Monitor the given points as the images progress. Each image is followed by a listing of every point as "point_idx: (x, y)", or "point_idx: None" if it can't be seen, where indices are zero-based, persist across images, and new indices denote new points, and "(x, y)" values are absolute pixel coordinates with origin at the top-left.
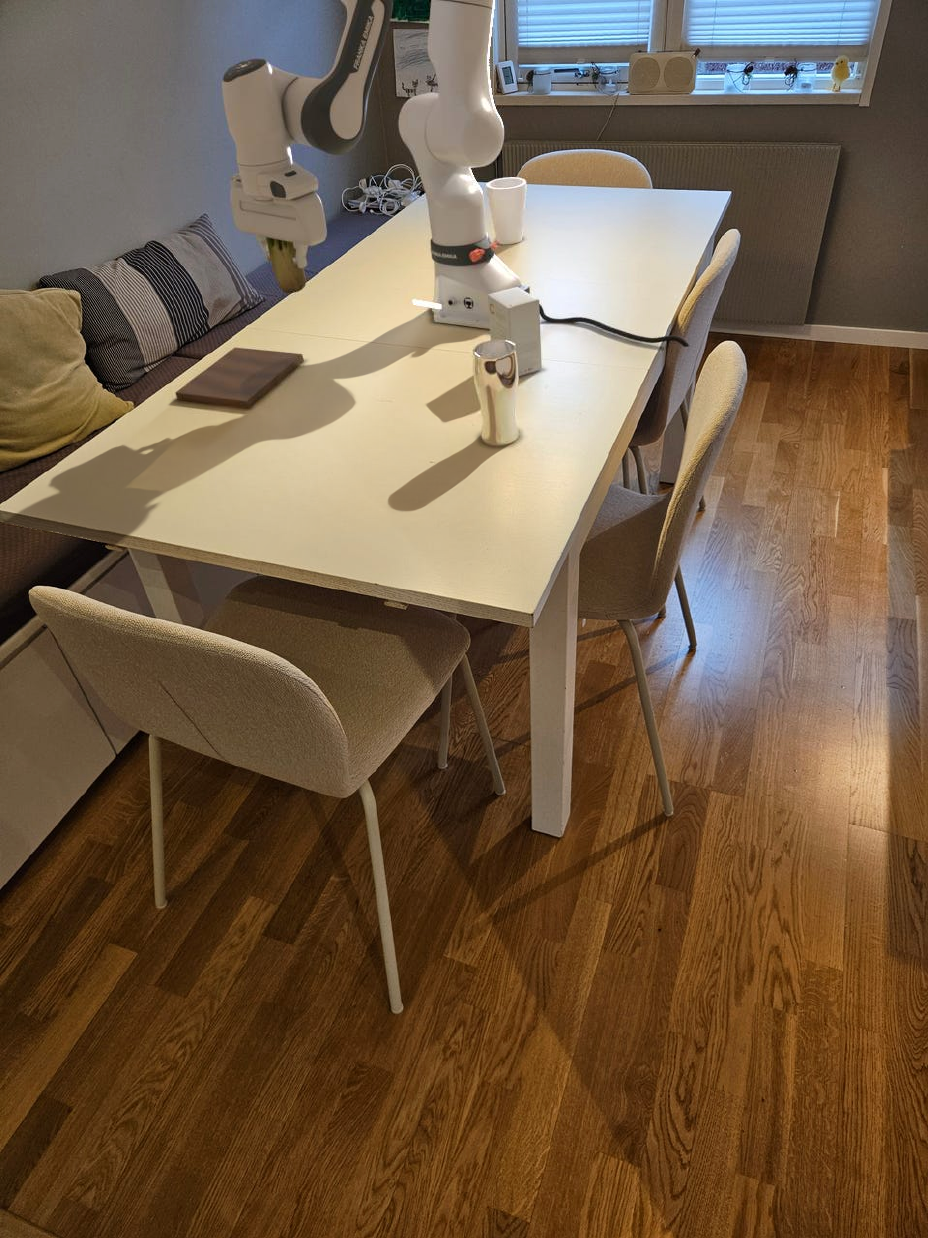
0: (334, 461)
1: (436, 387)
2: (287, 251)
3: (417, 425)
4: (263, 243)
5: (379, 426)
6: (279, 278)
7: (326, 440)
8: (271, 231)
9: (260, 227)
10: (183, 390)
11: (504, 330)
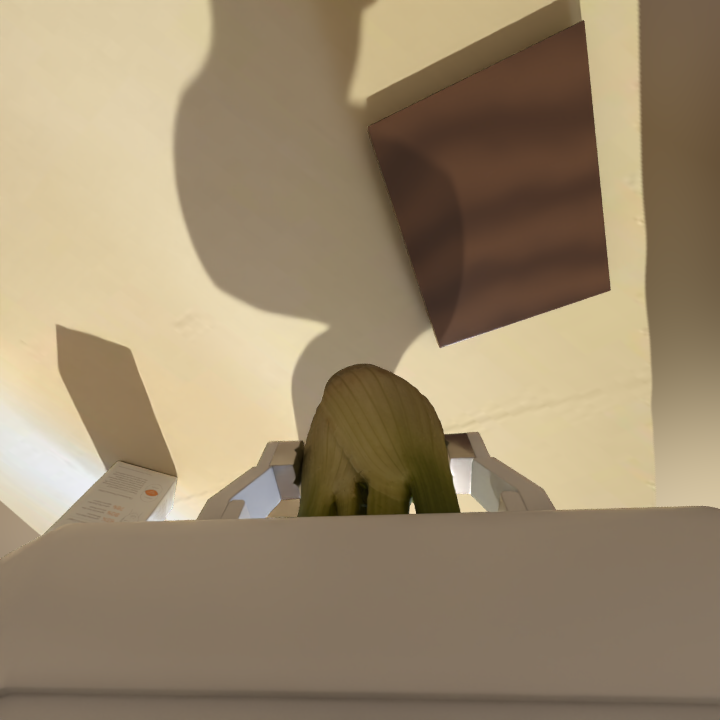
0: (31, 99)
1: (169, 394)
2: (328, 483)
3: (72, 293)
4: (503, 488)
5: (108, 252)
6: (366, 381)
7: (121, 149)
8: (362, 549)
9: (477, 559)
10: (569, 47)
11: (80, 518)
